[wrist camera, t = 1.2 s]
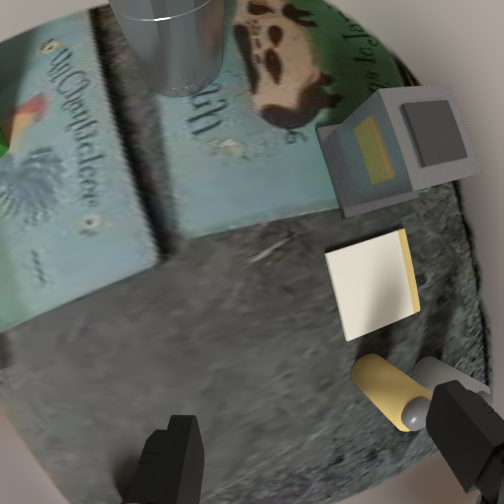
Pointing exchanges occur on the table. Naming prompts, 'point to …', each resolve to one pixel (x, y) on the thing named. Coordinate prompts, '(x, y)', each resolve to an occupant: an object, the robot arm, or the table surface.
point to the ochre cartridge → (392, 392)
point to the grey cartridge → (446, 377)
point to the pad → (373, 283)
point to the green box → (3, 144)
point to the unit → (396, 147)
